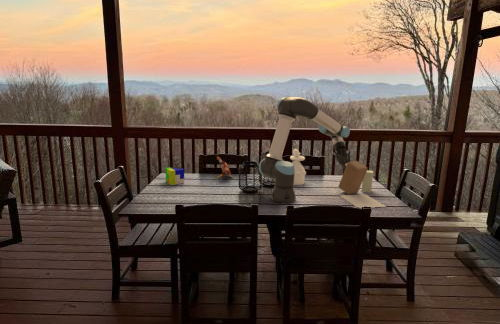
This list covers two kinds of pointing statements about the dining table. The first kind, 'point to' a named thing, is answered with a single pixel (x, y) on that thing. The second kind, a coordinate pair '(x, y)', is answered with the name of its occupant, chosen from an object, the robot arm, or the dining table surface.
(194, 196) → the dining table surface
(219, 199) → the dining table surface
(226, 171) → the decorative bird
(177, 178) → the puzzle toy
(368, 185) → the sage block
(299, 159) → the decorative object
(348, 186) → the wooden block
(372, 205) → the mat
